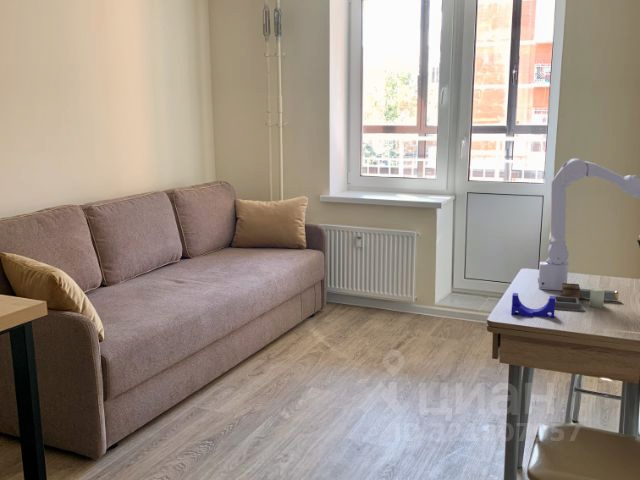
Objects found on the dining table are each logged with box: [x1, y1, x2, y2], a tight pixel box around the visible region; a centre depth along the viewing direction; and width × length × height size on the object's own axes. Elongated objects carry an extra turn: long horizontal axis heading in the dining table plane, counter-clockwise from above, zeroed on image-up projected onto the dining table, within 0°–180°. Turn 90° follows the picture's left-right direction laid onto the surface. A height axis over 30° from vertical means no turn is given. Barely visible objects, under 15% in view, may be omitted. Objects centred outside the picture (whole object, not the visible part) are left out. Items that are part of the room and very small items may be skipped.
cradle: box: [547, 295, 585, 313], centre depth 208 cm, size 10×10×2 cm
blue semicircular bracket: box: [510, 292, 556, 319], centre depth 198 cm, size 12×4×6 cm, turn 71°
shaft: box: [580, 288, 619, 301], centre depth 214 cm, size 14×3×3 cm, turn 74°
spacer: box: [589, 287, 605, 309], centre depth 208 cm, size 4×4×5 cm
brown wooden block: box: [561, 282, 581, 301], centre depth 216 cm, size 5×6×4 cm
